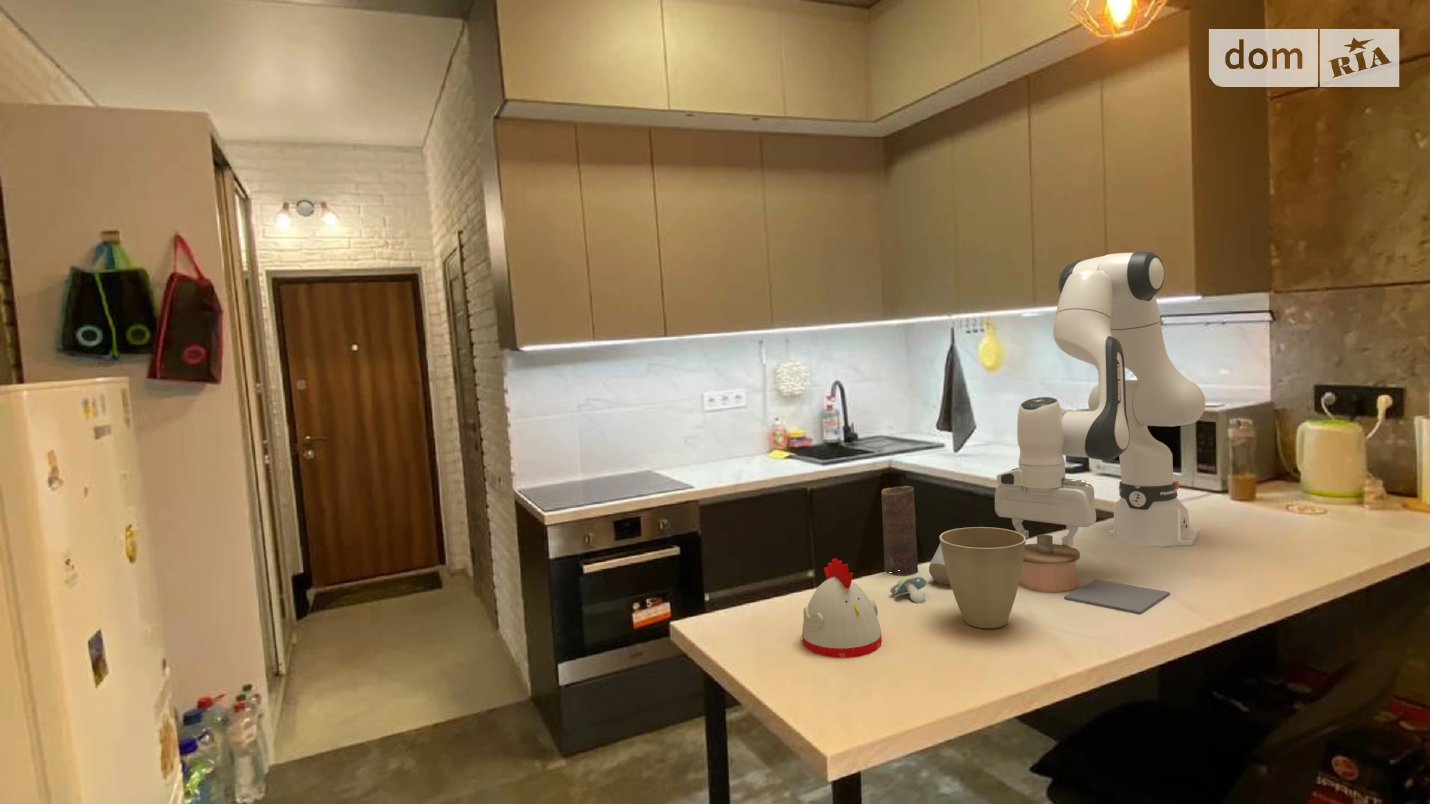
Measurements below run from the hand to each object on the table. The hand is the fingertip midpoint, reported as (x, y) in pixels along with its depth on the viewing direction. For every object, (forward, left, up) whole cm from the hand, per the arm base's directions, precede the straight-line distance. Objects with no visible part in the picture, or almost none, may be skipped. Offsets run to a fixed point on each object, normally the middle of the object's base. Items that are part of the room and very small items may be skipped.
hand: (1045, 542), depth 160 cm
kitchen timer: (+51, -12, -9) cm, 53 cm away
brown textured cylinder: (+13, -27, -9) cm, 31 cm away
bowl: (0, 0, -9) cm, 9 cm away
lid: (0, 0, -4) cm, 4 cm away
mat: (0, +14, -9) cm, 16 cm away
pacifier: (+25, -18, -10) cm, 32 cm away
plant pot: (+27, +2, -9) cm, 29 cm away
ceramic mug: (+12, -13, -9) cm, 20 cm away
